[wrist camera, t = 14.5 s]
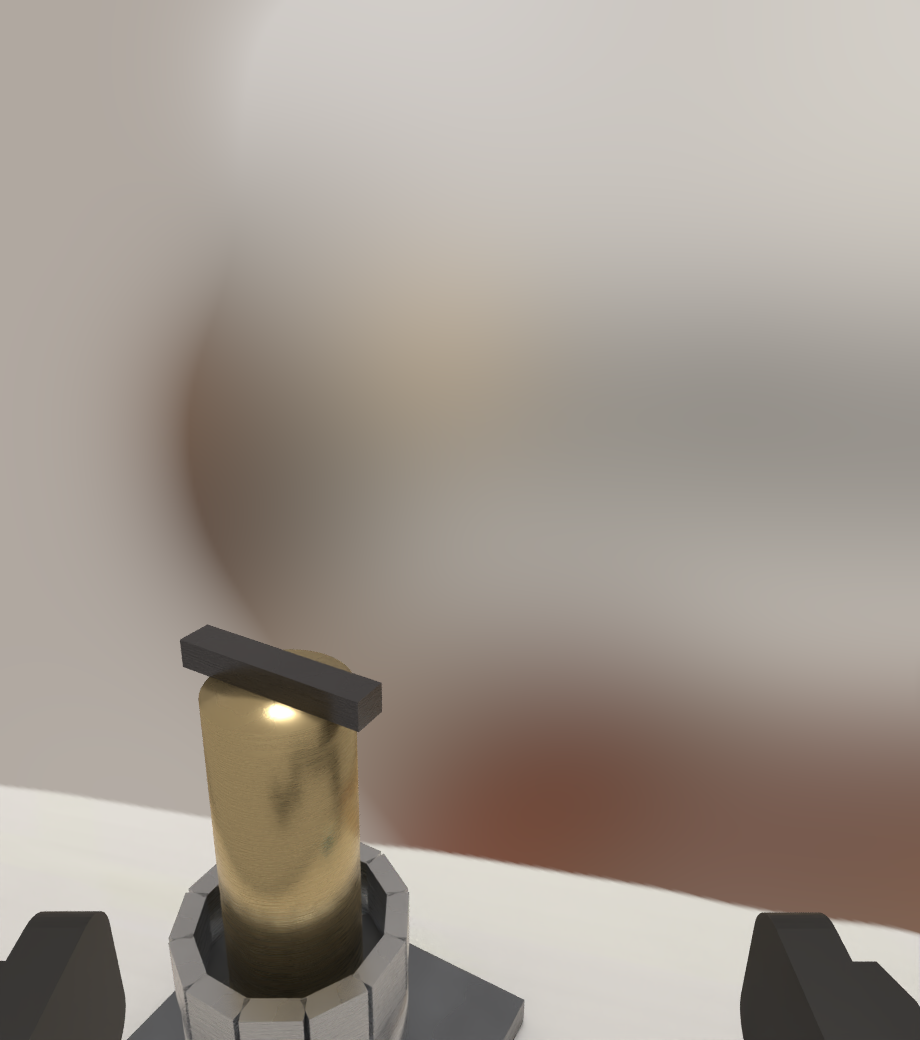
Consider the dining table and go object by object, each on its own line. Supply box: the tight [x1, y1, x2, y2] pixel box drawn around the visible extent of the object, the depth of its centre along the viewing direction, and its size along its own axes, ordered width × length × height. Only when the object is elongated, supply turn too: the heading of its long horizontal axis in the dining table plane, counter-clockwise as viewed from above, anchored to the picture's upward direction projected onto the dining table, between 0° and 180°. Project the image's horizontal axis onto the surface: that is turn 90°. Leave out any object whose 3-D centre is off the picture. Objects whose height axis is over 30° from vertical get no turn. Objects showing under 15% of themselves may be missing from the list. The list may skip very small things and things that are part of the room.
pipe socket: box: [127, 842, 524, 1040], centre depth 30 cm, size 13×13×8 cm
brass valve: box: [180, 625, 382, 998], centre depth 27 cm, size 5×7×13 cm
